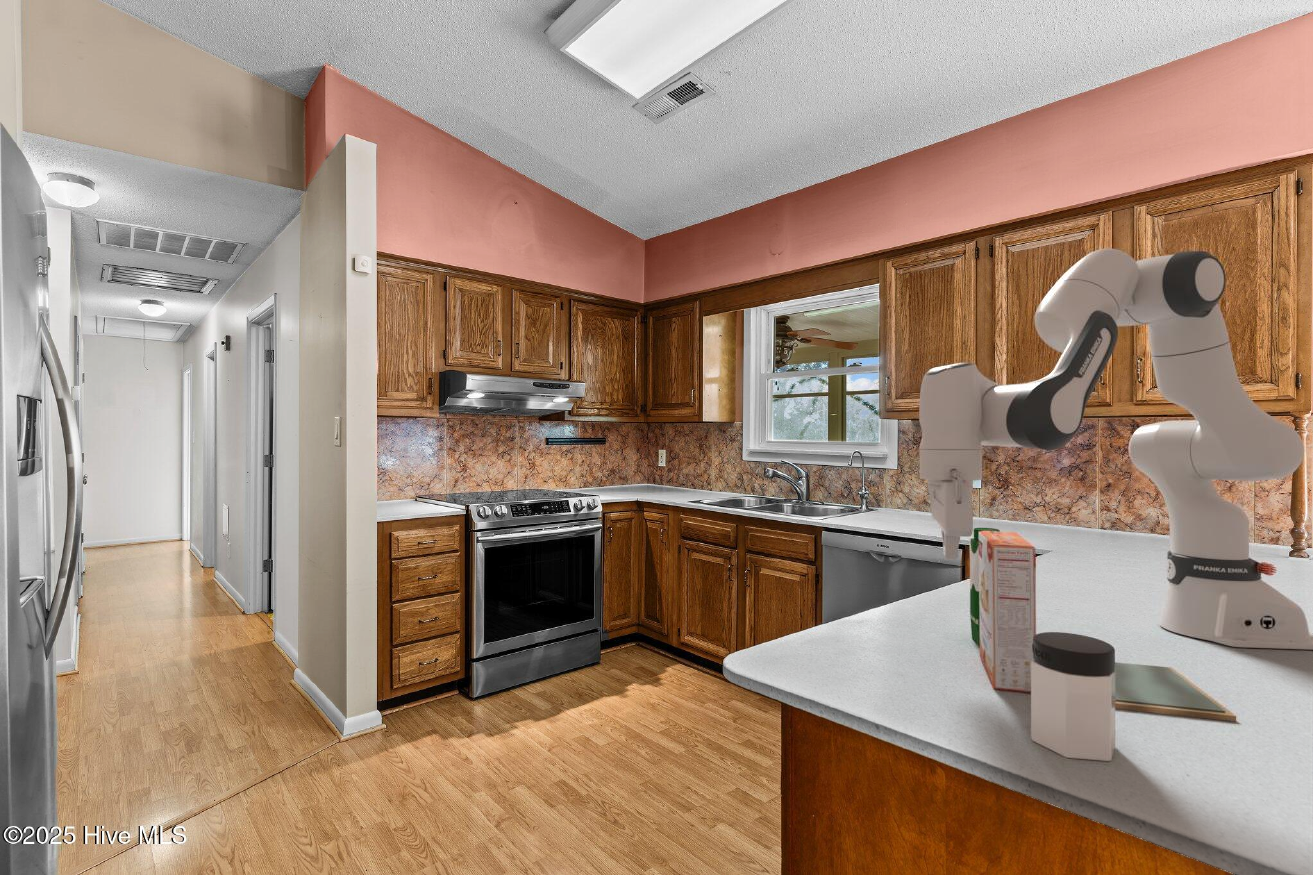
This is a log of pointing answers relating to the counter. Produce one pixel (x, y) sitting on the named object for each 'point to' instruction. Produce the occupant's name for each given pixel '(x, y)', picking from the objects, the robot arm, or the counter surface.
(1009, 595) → the cracker box
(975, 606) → the soya milk
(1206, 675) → the counter surface
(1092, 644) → the jar
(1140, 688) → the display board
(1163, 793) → the counter surface
